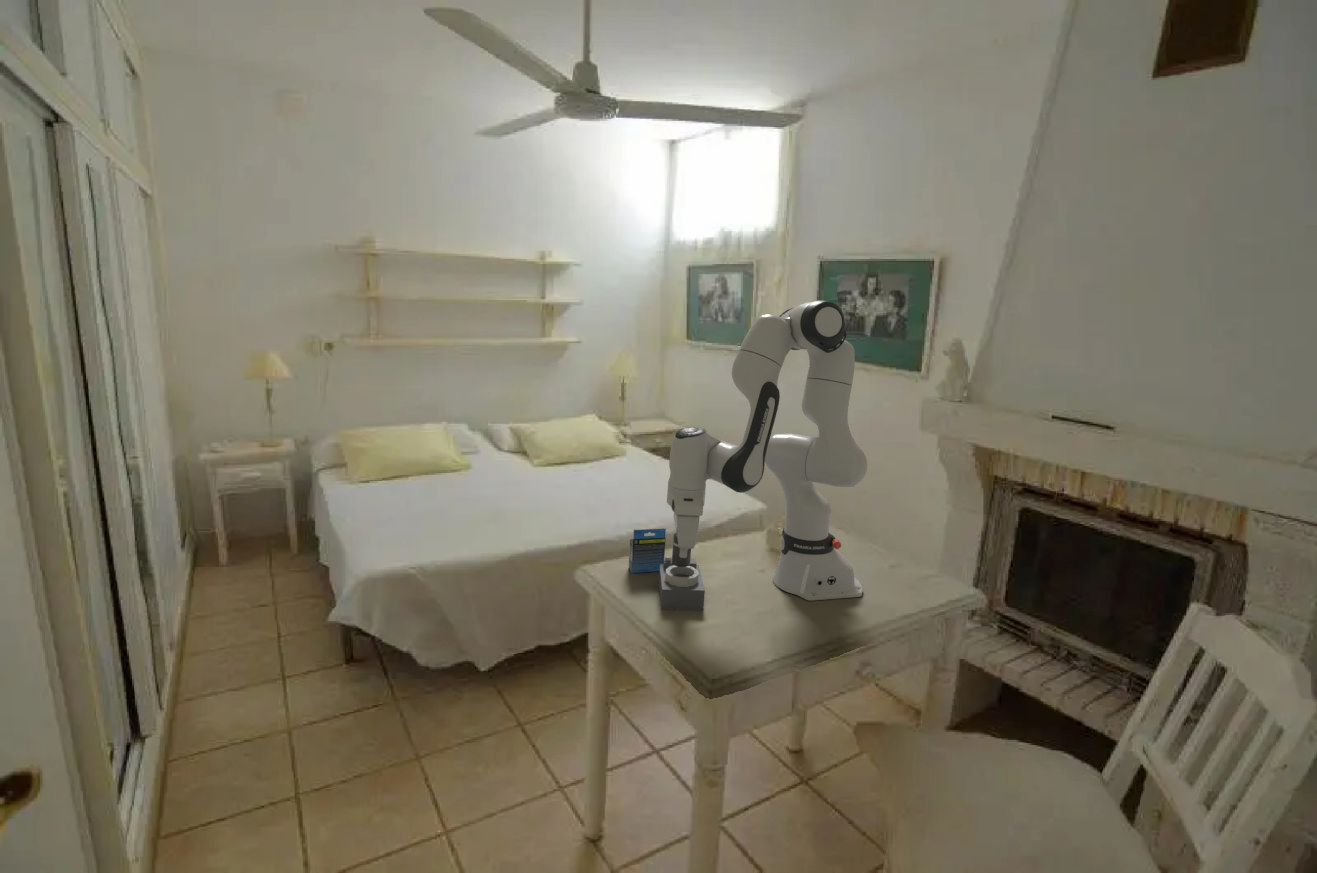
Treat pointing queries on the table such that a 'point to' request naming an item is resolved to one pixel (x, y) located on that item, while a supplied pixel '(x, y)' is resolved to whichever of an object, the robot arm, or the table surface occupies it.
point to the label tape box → (647, 550)
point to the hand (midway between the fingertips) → (682, 551)
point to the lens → (675, 555)
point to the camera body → (681, 586)
